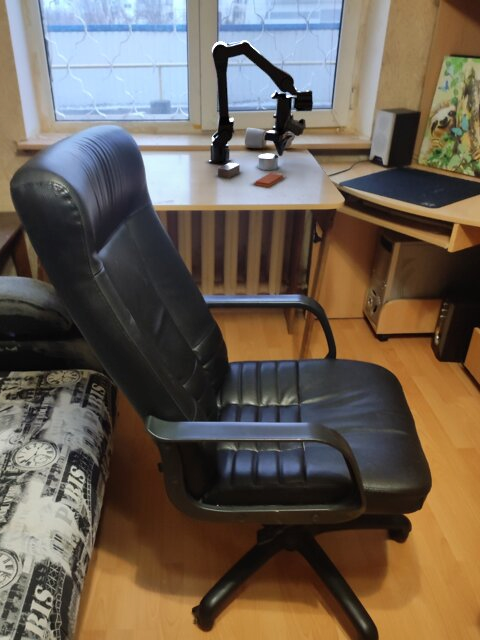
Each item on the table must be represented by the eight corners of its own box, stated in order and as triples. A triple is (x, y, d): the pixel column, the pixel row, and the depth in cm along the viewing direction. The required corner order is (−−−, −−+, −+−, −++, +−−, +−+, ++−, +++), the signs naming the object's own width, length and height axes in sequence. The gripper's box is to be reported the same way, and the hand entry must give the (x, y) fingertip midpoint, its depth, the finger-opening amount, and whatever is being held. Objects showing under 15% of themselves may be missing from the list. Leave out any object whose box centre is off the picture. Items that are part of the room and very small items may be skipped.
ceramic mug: (263, 150, 225) (264, 130, 220) (244, 149, 227) (244, 129, 222) (268, 144, 233) (269, 125, 229) (249, 143, 235) (250, 124, 231)
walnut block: (217, 176, 198) (217, 168, 196) (228, 171, 203) (229, 162, 201) (228, 178, 196) (228, 169, 194) (239, 172, 201) (239, 164, 199)
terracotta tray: (253, 184, 189) (253, 181, 189) (269, 175, 197) (269, 172, 197) (267, 187, 187) (268, 184, 186) (283, 178, 195) (283, 174, 194)
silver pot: (254, 168, 205) (255, 157, 203) (263, 163, 210) (264, 152, 207) (272, 171, 202) (272, 159, 199) (280, 166, 207) (281, 155, 204)
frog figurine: (292, 150, 224) (294, 132, 220) (275, 149, 226) (277, 131, 222) (295, 147, 229) (297, 129, 225) (279, 146, 230) (280, 128, 226)
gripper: (292, 118, 193) (289, 164, 202) (313, 109, 205) (309, 152, 214) (264, 115, 198) (262, 160, 207) (286, 106, 210) (283, 149, 219)
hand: (280, 155), depth 212 cm, fingers closed
